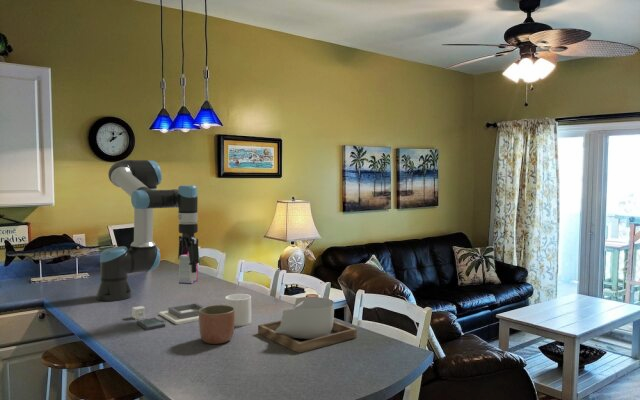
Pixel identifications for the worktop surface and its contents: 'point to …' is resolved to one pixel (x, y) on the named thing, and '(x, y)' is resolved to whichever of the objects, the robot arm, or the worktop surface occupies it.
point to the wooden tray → (342, 335)
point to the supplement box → (185, 270)
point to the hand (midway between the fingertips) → (188, 278)
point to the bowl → (308, 318)
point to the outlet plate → (182, 313)
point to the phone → (150, 323)
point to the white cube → (138, 312)
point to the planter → (216, 323)
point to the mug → (240, 308)
